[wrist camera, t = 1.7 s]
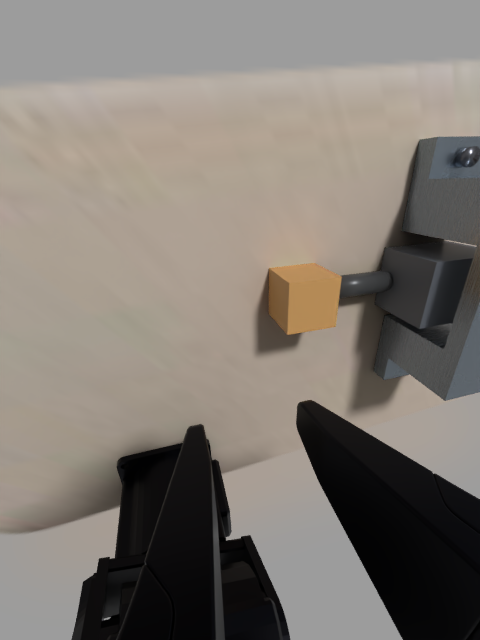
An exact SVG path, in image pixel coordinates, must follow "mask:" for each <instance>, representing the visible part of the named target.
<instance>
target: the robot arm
mask: <svg viewBox="0 0 480 640" xmlns="http://www.w3.org/2000/svg"><path fill="white" fill-rule="evenodd" d="M296 425H297V430H298V432H299V435H300V437H301V440H302V442H303V445H304V447H305V450H306V452H307V455H308V457H309V459H310V462H311V464H312V467H313V469H314V471H315V474H316V476H317V479H318V481H319V483H320V485H321V486H322V489H323V491H324V493H325V494H326V496H327V498H328V500H329V502H330V504H331V506H332V507H333V509H334V511H335V513H336V515H337V517H338V519H339V521H340V522H341V524H342V526H343V528H344V530H345V532H346V534H347V535H348V538H349V539H350V541H351V543H352V545H353V547H354V549H355V550H356V553H357V554H358V556H359V558H360V560H361V562H362V564H363V566H364V568H365V569H366V571H367V573H368V575H369V577H370V579H371V581H372V582H373V584H374V586H375V588H376V590H377V592H378V594H379V596H380V598H381V599H382V601H383V603H384V605H385V607H386V609H387V611H388V613H389V615H390V616H391V618H392V620H393V622H394V624H395V626H396V628H397V630H398V631H399V633H400V635H401V637H402V639H403V640H480V499H478V498H476V497H475V496H473V495H471V494H469V493H468V492H466V491H464V490H463V489H461V488H459V487H457V486H456V485H454V484H452V483H450V482H448V481H447V480H445V479H444V478H442V477H440V476H439V475H437V474H433V473H432V471H430V470H428V469H427V468H425V467H423V466H422V465H420V464H418V463H417V462H415V461H413V460H412V459H410V458H408V457H407V456H405V455H403V454H402V453H400V452H398V451H397V450H395V449H393V448H391V447H390V446H388V445H386V444H385V443H383V442H382V441H380V440H378V439H376V438H375V437H373V436H371V435H369V434H368V433H366V432H365V431H363V430H361V429H360V428H358V427H356V426H355V425H353V424H351V423H350V422H348V421H346V420H345V419H343V418H341V417H340V416H338V415H336V414H335V413H333V412H331V411H330V410H328V409H326V408H325V407H323V406H321V405H320V404H318V403H316V402H314V401H312V400H307V401H303V402H299V403H298V406H297V419H296ZM117 470H118V473H119V476H120V479H121V482H122V485H123V486H122V496H121V505H120V516H119V525H118V534H117V543H116V552H115V558H113V559H110V557H106V558H100V559H99V562H98V567H97V573H94V575H93V576H91V577H90V578H88V579H87V580H85V581H84V582H83V586H82V591H81V597H80V603H79V608H78V613H77V618H76V623H75V628H74V632H73V636H72V640H290V636H289V631H288V626H287V622H286V618H285V615H284V611H283V609H282V606H281V603H280V601H279V598H278V596H277V594H276V591H275V589H274V587H273V585H272V583H271V580H270V578H269V576H268V574H267V571H266V569H265V567H264V565H263V563H262V560H261V558H260V556H259V554H258V552H257V549H256V547H255V545H254V543H253V541H252V538H251V536H250V535H249V536H242V537H241V539H234V540H228V541H226V537H228V536H230V534H231V520H230V510H229V506H228V501H227V497H226V493H225V488H224V484H223V479H222V475H221V471H220V466H219V462H218V461H217V460H212V458H211V450H210V443H209V440H208V439H206V435H205V430H204V426H203V425H202V424H199V425H195V426H190V427H189V428H188V429H187V432H186V435H185V438H184V441H183V443H180V444H176V445H172V446H168V447H163V448H159V449H155V450H151V451H146V452H142V453H138V454H133V455H129V456H125V457H122V458H120V459H119V460H118V462H117ZM107 617H111V618H110V619H108V620H104V618H107Z"/></svg>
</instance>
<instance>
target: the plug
mask: <svg viewBox="0 0 480 640" xmlns="http://www.w3.org/2000/svg"><path fill="white" fill-rule="evenodd" d="M475 251H476V247H474V246H469V245H464V244H459V243H454V242H449V241H444V242H434V243H425V244H415V245H406V246H396V247H387V248H385V250H384V255H383V261H382V266H381V271H375V272H367V273H359V274H351V275H343V276H339V275H337V274H335V273H333V272H331V271H329V270H327V269H325V268H323V267H321V266H319V265H317V264H315V263H311V264H302V265H293V266H284V267H275V268H269V314H270V316H271V317H272V318H273V319H274V320H275V321H276V322H277V324H278V325H279V326H280V327H281V328H282V329H283V330H284V332H285V333H286V334H287V335H290V334H296V333H302V332H308V331H314V330H320V329H325V328H331V327H336V320H337V311H338V303H339V298H345V297H352V296H359V295H366V294H373V293H377V294H376V299H375V305H377V306H379V307H381V308H382V309H384V310H386V311H388V312H390V313H391V314H393V315H395V316H397V317H399V318H400V319H402V320H404V321H406V322H408V323H409V324H411V325H413V326H415V327H417V328H418V329H422V328H427V327H433V326H438V325H444V324H449V323H453V320H454V317H455V313H456V310H457V307H458V304H459V301H460V298H461V295H462V291H463V288H464V285H465V282H466V279H467V276H468V273H469V269H470V266H471V263H472V260H473V257H474V254H475Z"/></svg>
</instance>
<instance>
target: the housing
mask: <svg viewBox="0 0 480 640" xmlns="http://www.w3.org/2000/svg"><path fill="white" fill-rule="evenodd" d="M402 231H405V232H410V233H415V234H420V235H426V236H431V237H436V238H441V239H446V240H451V241H456V242H461V243H466V244H471V245H477V247H476V251H475V254H474V257H473V260H472V263H471V266H470V269H469V273H468V276H467V279H466V282H465V285H464V288H463V291H462V295H461V298H460V301H459V304H458V307H457V310H456V313H455V317H454V320H453V323H449V324H444V325H438V326H433V327H427V328H422V329H418V328H417V327H415V326H413V325H411V324H409V323H408V322H406V321H404V320H402V319H400V318H399V317H397V316H395V315H393V314H389V315H385V316H384V321H383V326H382V331H381V336H380V341H379V346H378V351H377V356H376V361H375V366H374V372H375V373H376V374H377V375H378V376H380V377H381V378H382V379H383V380H386V379H390V378H395V377H400V376H404V375H409V374H410V375H411V376H413V377H414V378H415V379H417V380H418V381H419V382H421V383H422V384H423V385H425V386H426V387H427V388H429V389H430V390H431V391H433V392H434V393H435V394H437V395H438V396H439V397H441V398H442V399H443V400H445V401H446V400H450V399H454V398H458V397H462V396H466V395H470V394H474V393H478V392H480V137H434V138H428V139H422V140H420V142H419V147H418V151H417V156H416V161H415V166H414V171H413V176H412V181H411V186H410V191H409V196H408V201H407V206H406V211H405V216H404V221H403V226H402Z"/></svg>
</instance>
